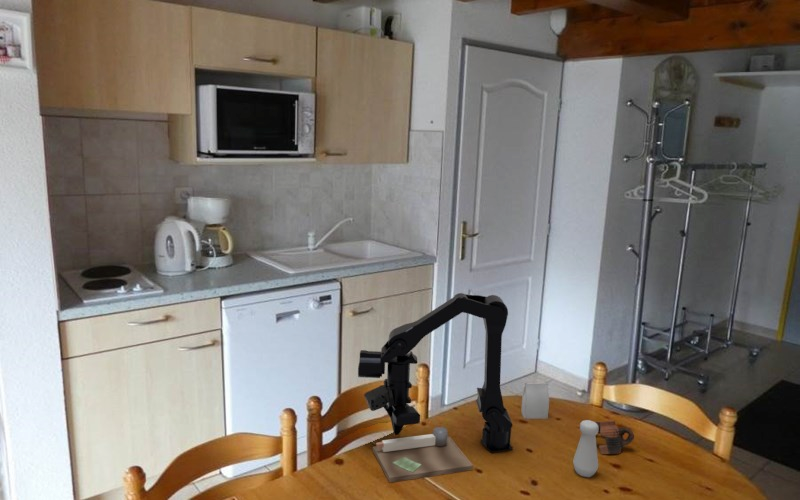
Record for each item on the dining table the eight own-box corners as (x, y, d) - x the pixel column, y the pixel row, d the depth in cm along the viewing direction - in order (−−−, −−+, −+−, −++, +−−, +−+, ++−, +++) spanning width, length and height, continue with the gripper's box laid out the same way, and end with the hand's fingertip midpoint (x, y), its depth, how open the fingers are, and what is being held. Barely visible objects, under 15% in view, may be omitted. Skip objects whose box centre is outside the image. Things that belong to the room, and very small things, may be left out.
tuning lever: (443, 438, 152) (444, 426, 151) (449, 445, 148) (449, 432, 148) (374, 447, 146) (375, 434, 145) (378, 455, 143) (378, 441, 142)
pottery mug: (589, 456, 150) (583, 422, 153) (589, 455, 158) (584, 423, 161) (638, 452, 147) (631, 418, 149) (636, 451, 155) (629, 419, 158)
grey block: (547, 418, 169) (550, 386, 167) (524, 418, 168) (527, 386, 166) (543, 412, 172) (546, 381, 171) (521, 413, 172) (523, 381, 170)
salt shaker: (598, 481, 138) (603, 430, 135) (573, 477, 139) (578, 426, 136) (595, 468, 143) (600, 418, 141) (571, 464, 144) (576, 415, 142)
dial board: (449, 440, 154) (449, 435, 154) (472, 469, 140) (473, 464, 140) (372, 450, 147) (372, 445, 147) (389, 482, 134) (389, 477, 134)
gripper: (358, 367, 155) (357, 421, 158) (377, 396, 138) (376, 456, 141) (398, 363, 159) (396, 417, 161) (422, 391, 141) (419, 450, 144)
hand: (396, 434), depth 152 cm, fingers closed
